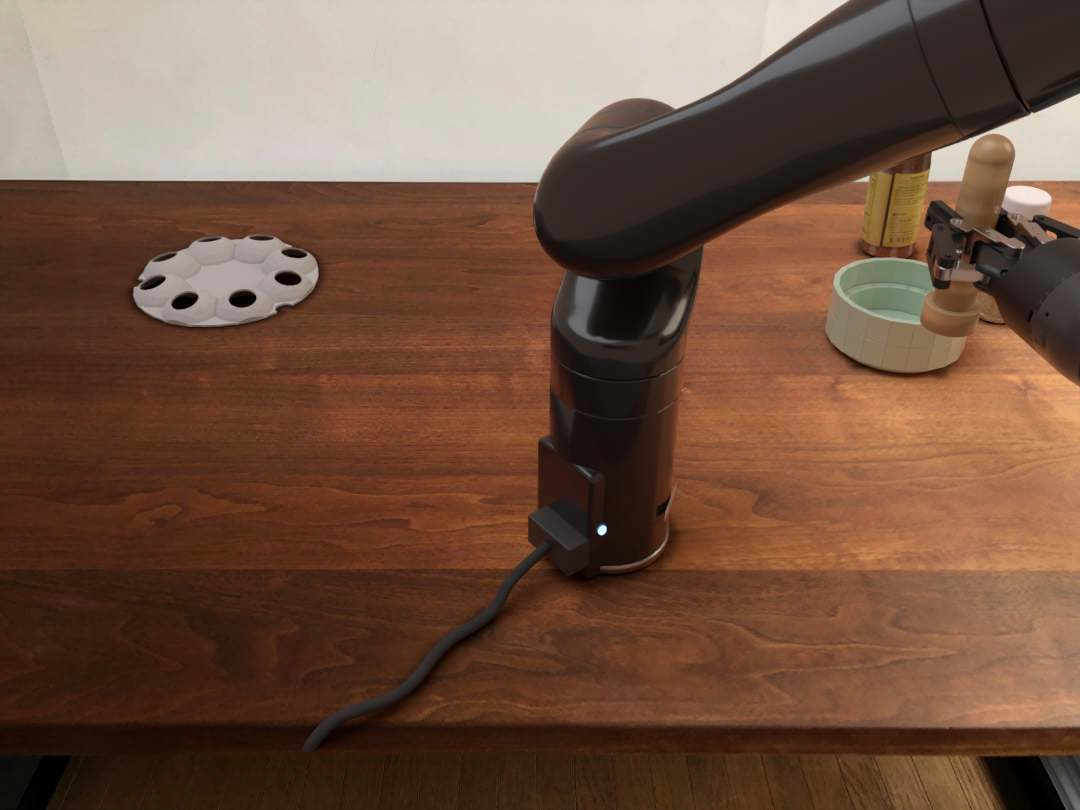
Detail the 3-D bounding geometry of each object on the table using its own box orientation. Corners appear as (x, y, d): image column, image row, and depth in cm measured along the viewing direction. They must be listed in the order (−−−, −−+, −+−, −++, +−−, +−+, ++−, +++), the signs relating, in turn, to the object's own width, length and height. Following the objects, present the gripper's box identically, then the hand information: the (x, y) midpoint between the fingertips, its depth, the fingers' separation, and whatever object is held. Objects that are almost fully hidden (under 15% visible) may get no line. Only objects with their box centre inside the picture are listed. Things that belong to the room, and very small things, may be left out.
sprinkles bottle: (1025, 317, 109) (1063, 196, 101) (997, 329, 107) (1033, 207, 99) (988, 298, 112) (1022, 180, 105) (960, 310, 110) (992, 190, 102)
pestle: (954, 343, 84) (1006, 151, 75) (908, 321, 87) (953, 132, 78) (986, 326, 86) (1041, 137, 77) (940, 305, 89) (987, 120, 80)
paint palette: (259, 341, 105) (256, 323, 103) (94, 308, 110) (89, 291, 109) (350, 255, 120) (348, 239, 119) (201, 230, 125) (198, 214, 124)
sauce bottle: (920, 246, 122) (960, 75, 111) (904, 267, 118) (944, 92, 106) (865, 233, 125) (898, 65, 114) (847, 253, 121) (880, 81, 109)
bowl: (906, 394, 98) (920, 339, 94) (796, 335, 106) (805, 282, 103) (988, 348, 104) (1004, 295, 101) (878, 296, 113) (889, 245, 109)
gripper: (1201, 257, 69) (1046, 157, 83) (1005, 276, 67) (880, 171, 80) (1161, 354, 73) (1021, 244, 87) (976, 375, 71) (862, 259, 85)
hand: (954, 209), depth 84 cm, fingers closed on pestle, 3 cm apart
